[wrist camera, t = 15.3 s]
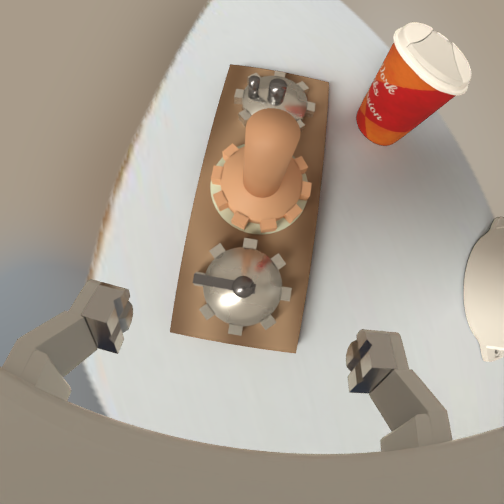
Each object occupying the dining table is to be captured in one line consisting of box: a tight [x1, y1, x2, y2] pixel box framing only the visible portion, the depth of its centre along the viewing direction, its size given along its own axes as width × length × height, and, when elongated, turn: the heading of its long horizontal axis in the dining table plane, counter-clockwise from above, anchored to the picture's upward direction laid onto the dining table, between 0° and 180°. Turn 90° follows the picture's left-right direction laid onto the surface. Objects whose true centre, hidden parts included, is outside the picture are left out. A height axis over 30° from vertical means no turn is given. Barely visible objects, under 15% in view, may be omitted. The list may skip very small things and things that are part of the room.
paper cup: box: [356, 22, 472, 146], centre depth 22 cm, size 8×8×14 cm
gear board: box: [170, 64, 329, 353], centre depth 27 cm, size 11×28×2 cm, turn 170°
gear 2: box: [192, 238, 292, 336], centre depth 23 cm, size 8×8×4 cm
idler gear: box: [211, 108, 312, 233], centre depth 21 cm, size 8×8×10 cm
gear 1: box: [234, 71, 315, 132], centre depth 25 cm, size 8×8×4 cm
